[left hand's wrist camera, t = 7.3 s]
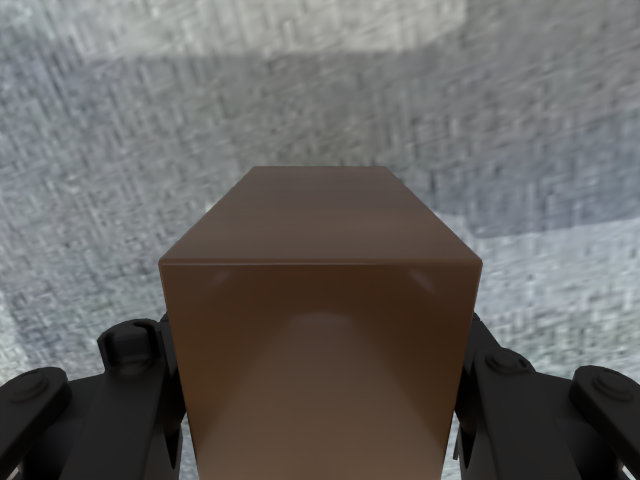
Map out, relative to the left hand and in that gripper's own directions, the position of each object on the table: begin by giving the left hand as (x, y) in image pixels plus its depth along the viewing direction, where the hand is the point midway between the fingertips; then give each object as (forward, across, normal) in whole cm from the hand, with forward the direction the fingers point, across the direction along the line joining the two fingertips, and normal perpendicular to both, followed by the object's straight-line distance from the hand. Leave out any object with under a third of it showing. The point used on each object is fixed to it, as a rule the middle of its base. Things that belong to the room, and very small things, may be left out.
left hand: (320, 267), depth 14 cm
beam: (+1, 0, -23) cm, 23 cm away
